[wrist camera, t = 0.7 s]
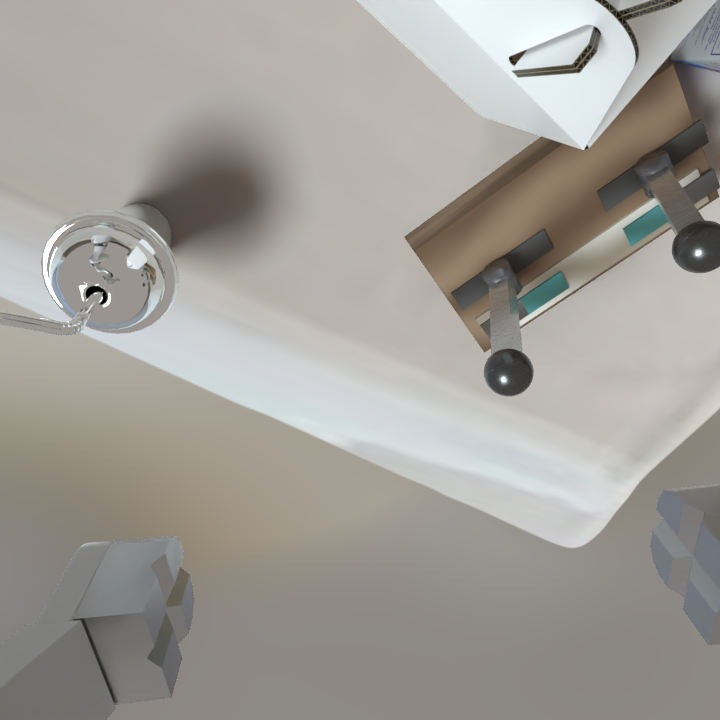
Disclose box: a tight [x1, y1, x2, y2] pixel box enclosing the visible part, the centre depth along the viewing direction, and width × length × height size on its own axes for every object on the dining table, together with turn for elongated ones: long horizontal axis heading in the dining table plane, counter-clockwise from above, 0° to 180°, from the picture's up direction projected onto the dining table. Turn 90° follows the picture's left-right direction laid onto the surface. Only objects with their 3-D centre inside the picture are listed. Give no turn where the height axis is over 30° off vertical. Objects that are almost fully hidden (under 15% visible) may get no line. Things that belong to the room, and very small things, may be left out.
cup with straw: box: [0, 204, 179, 336], centre depth 37 cm, size 8×9×20 cm
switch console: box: [405, 64, 720, 352], centre depth 47 cm, size 12×24×4 cm, turn 125°
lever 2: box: [634, 150, 720, 273], centre depth 39 cm, size 3×3×14 cm
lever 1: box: [481, 259, 533, 396], centre depth 42 cm, size 3×3×14 cm
